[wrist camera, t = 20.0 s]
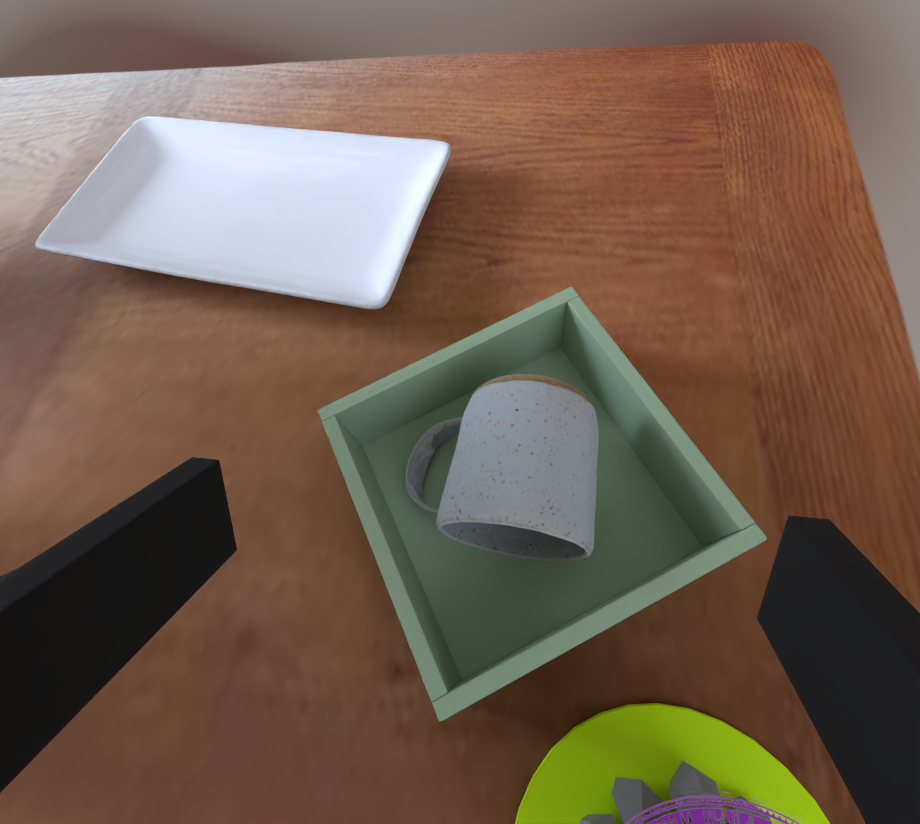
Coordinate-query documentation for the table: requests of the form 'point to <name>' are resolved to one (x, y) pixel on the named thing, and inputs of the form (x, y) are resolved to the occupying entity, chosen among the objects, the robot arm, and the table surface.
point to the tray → (255, 207)
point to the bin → (513, 578)
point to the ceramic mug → (517, 470)
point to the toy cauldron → (663, 774)
